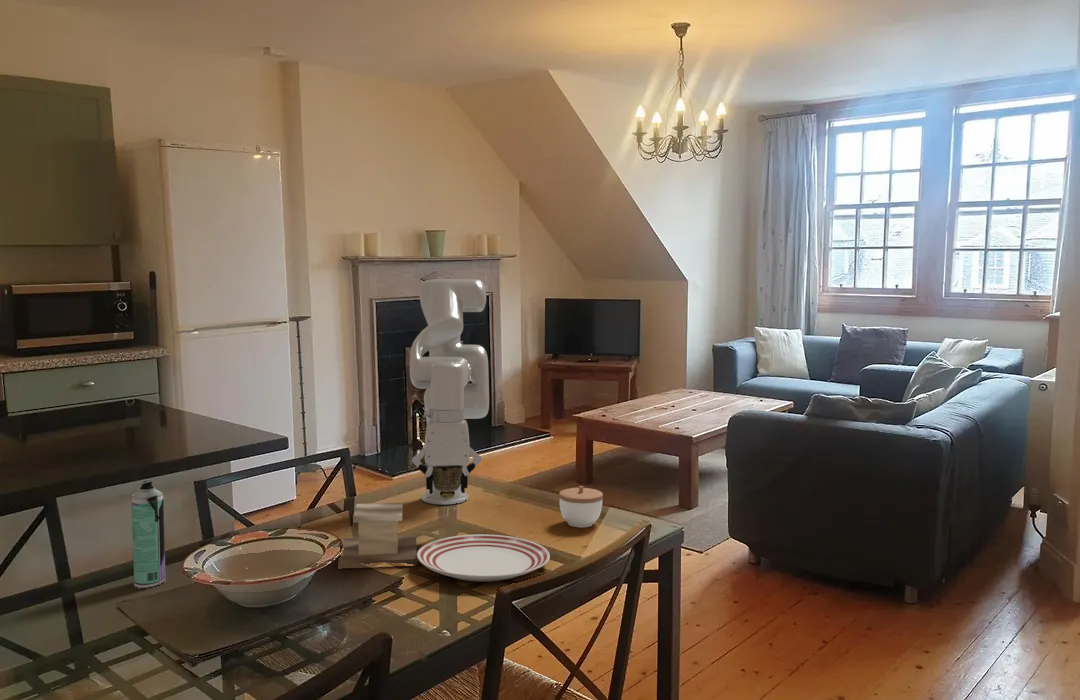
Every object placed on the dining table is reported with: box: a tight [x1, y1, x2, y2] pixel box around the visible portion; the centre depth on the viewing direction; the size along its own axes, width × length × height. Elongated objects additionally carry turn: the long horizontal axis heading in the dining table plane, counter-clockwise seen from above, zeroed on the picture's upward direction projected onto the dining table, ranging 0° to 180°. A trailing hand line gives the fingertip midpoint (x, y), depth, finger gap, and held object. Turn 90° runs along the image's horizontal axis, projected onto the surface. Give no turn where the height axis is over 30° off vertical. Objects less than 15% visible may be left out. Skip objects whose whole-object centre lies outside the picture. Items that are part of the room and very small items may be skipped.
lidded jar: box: [558, 485, 604, 529], centre depth 196 cm, size 11×11×9 cm
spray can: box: [131, 480, 166, 589], centre depth 154 cm, size 6×6×20 cm
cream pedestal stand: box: [342, 502, 418, 566], centre depth 172 cm, size 16×16×10 cm
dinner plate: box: [417, 533, 551, 583], centre depth 166 cm, size 27×27×3 cm
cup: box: [432, 466, 463, 499], centre depth 184 cm, size 8×7×8 cm
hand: (446, 491), depth 185 cm, fingers closed on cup, 6 cm apart
